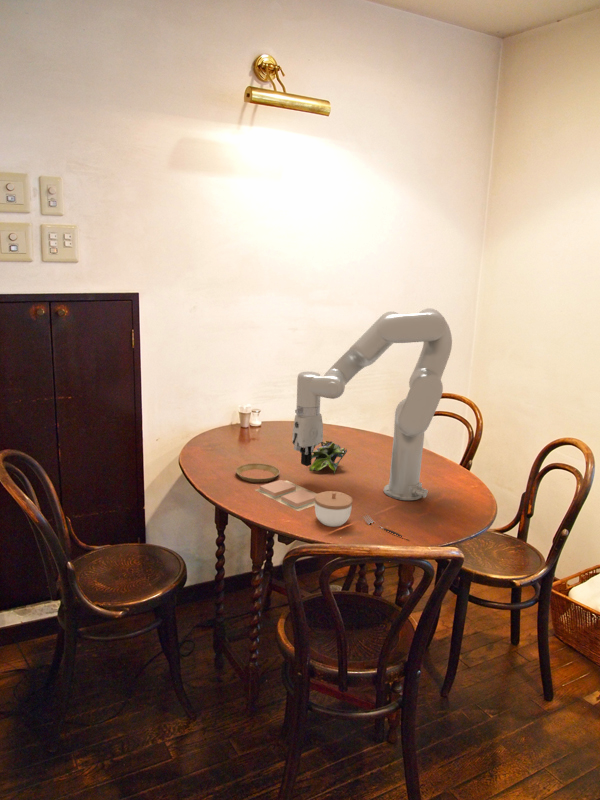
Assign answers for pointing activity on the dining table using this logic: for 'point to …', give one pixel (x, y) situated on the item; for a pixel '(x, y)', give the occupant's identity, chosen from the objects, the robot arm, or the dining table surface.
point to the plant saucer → (257, 466)
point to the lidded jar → (333, 508)
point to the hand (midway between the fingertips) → (306, 464)
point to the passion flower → (327, 456)
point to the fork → (381, 527)
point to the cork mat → (288, 493)
